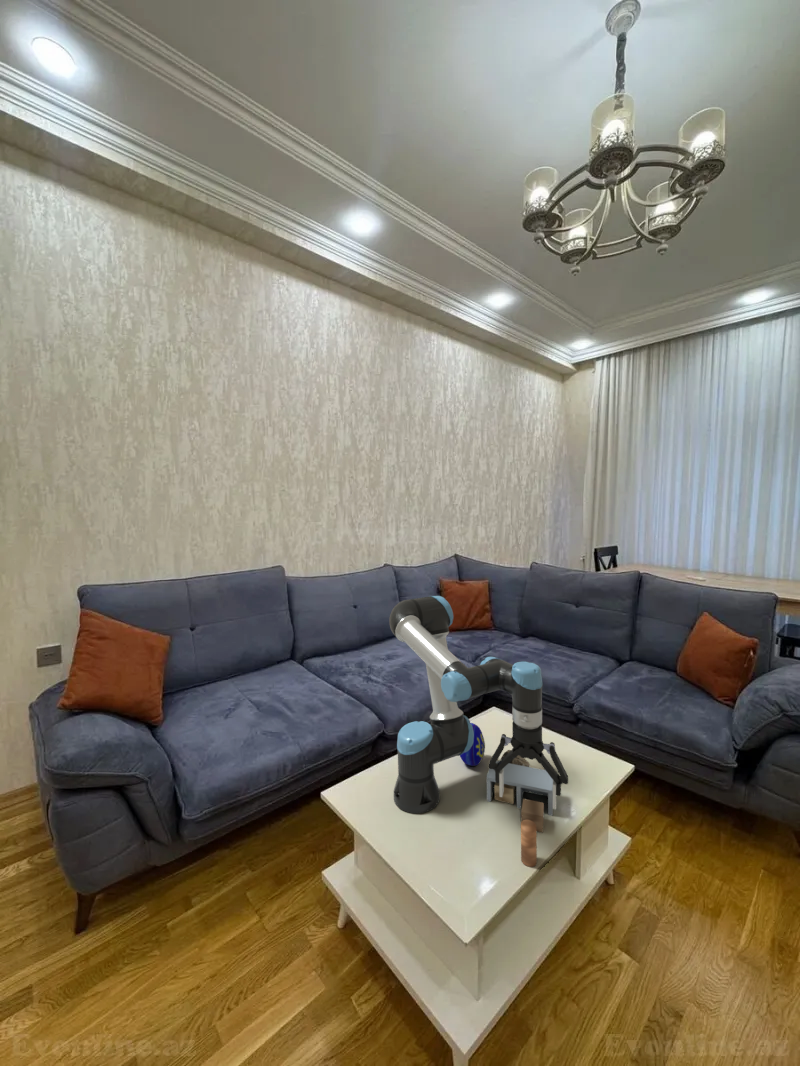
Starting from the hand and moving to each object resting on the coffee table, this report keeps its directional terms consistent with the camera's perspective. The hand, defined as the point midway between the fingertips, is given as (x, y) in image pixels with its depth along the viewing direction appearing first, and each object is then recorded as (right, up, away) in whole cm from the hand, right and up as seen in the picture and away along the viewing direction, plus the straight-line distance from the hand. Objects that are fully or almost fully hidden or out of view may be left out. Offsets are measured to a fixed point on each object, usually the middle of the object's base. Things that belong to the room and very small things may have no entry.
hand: (527, 799), depth 114 cm
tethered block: (+3, -16, +8) cm, 18 cm away
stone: (+7, -15, +37) cm, 41 cm away
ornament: (-7, -15, +45) cm, 48 cm away
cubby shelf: (+5, -15, +25) cm, 30 cm away
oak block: (+1, -15, +26) cm, 31 cm away
